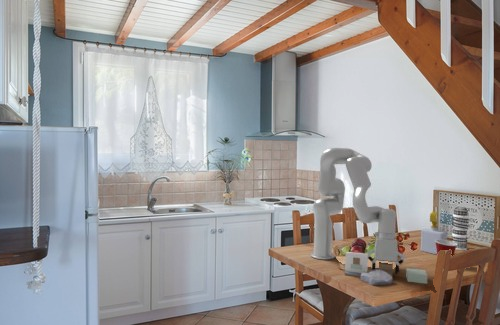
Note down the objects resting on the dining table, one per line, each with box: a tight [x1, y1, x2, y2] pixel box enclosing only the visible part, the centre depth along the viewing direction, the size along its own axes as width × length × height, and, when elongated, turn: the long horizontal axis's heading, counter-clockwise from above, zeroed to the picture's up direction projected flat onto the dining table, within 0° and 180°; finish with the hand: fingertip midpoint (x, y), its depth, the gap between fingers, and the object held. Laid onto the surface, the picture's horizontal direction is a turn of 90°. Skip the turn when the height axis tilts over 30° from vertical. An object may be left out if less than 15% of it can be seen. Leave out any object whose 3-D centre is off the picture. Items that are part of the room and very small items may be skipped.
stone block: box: [359, 269, 393, 286], centre depth 174 cm, size 12×5×10 cm
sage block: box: [405, 267, 428, 284], centre depth 178 cm, size 8×8×4 cm
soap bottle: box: [420, 211, 448, 256], centre depth 226 cm, size 12×7×23 cm, turn 37°
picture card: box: [344, 251, 369, 278], centre depth 184 cm, size 6×10×10 cm, turn 74°
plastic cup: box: [435, 239, 458, 257], centre depth 203 cm, size 11×11×12 cm
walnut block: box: [377, 262, 393, 277], centre depth 183 cm, size 6×6×6 cm
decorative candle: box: [451, 206, 470, 251], centre depth 238 cm, size 9×9×25 cm
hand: (385, 272), depth 183 cm, fingers open, 9 cm apart
